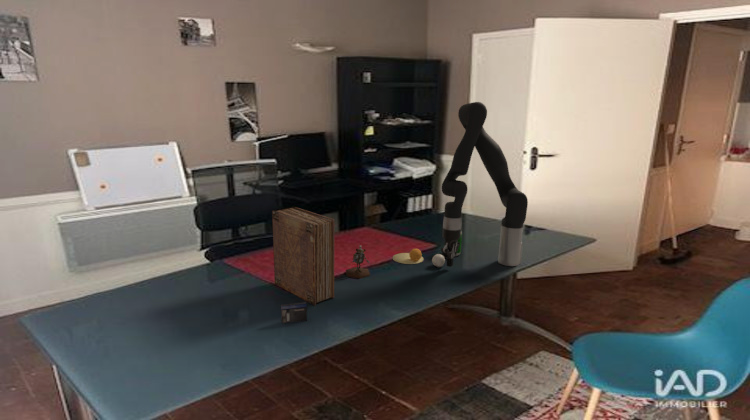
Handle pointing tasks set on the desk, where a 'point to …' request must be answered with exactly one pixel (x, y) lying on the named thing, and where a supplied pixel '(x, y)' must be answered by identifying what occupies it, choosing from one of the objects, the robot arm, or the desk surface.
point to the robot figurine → (359, 259)
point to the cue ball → (438, 260)
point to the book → (304, 253)
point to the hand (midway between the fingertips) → (449, 265)
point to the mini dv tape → (294, 312)
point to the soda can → (459, 246)
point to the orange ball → (415, 254)
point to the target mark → (405, 259)
